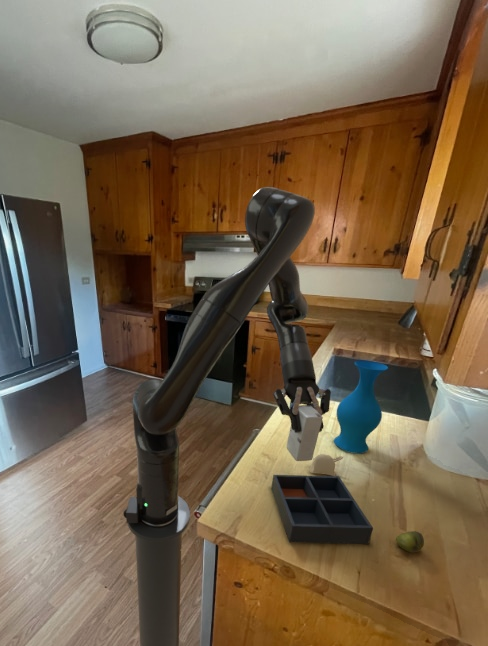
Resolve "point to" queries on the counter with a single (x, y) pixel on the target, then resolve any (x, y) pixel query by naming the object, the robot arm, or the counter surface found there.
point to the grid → (319, 510)
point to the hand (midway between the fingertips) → (308, 431)
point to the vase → (359, 410)
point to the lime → (411, 541)
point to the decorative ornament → (324, 464)
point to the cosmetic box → (305, 434)
